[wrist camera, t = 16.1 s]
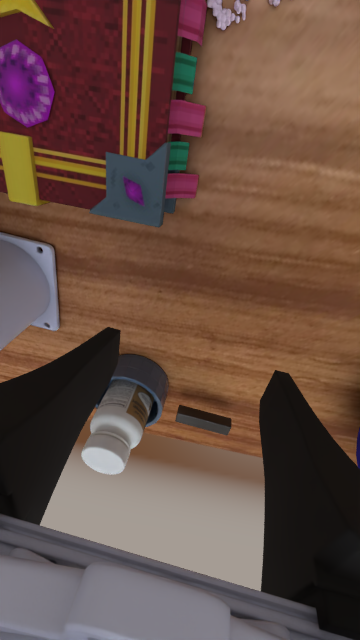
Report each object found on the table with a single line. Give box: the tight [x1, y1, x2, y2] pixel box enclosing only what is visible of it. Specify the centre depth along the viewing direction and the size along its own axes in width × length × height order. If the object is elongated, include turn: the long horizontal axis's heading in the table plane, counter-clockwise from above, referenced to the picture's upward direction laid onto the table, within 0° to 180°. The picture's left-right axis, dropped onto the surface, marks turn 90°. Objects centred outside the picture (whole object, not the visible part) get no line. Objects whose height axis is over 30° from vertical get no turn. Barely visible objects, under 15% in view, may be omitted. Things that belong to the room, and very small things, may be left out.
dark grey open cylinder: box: [95, 354, 169, 427], centre depth 26 cm, size 6×6×3 cm
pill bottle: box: [81, 379, 154, 474], centre depth 24 cm, size 4×4×8 cm
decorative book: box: [0, 0, 207, 227], centre depth 14 cm, size 11×16×5 cm
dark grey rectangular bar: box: [175, 405, 231, 435], centre depth 25 cm, size 5×1×1 cm, turn 80°
